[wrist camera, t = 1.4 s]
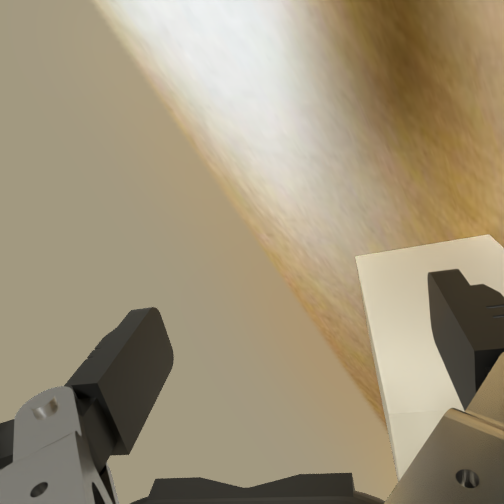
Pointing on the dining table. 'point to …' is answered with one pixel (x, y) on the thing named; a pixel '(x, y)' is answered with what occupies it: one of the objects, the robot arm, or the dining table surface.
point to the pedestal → (417, 332)
